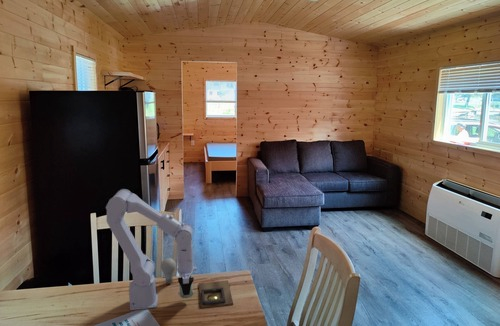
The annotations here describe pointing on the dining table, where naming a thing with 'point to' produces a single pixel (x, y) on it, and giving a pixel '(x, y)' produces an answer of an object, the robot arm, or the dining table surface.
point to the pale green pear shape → (186, 295)
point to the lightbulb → (168, 269)
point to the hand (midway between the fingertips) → (186, 290)
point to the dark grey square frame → (213, 296)
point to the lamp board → (216, 285)
